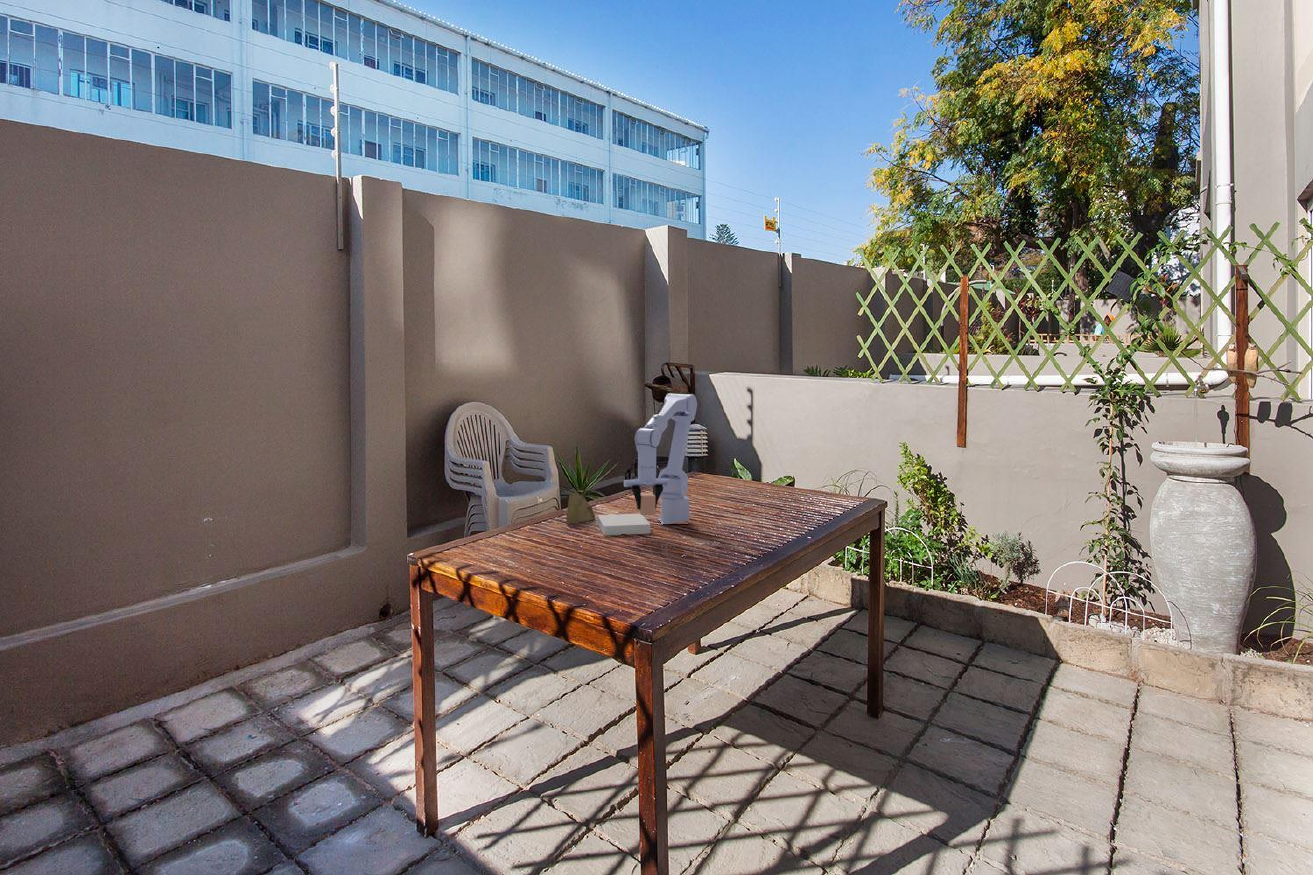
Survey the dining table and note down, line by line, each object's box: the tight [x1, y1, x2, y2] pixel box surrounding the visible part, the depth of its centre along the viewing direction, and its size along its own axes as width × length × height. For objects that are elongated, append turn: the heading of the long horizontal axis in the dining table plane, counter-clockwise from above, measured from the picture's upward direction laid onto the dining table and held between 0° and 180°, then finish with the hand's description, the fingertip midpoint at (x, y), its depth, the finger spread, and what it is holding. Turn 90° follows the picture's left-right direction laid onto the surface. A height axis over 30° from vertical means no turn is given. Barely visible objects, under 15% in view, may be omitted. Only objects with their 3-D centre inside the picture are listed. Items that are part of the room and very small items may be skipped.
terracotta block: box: [637, 492, 656, 516], centre depth 232 cm, size 4×4×6 cm
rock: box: [565, 492, 596, 525], centre depth 248 cm, size 11×9×10 cm
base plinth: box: [596, 513, 651, 536], centre depth 239 cm, size 15×15×3 cm
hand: (646, 508), depth 232 cm, fingers closed on terracotta block, 4 cm apart
